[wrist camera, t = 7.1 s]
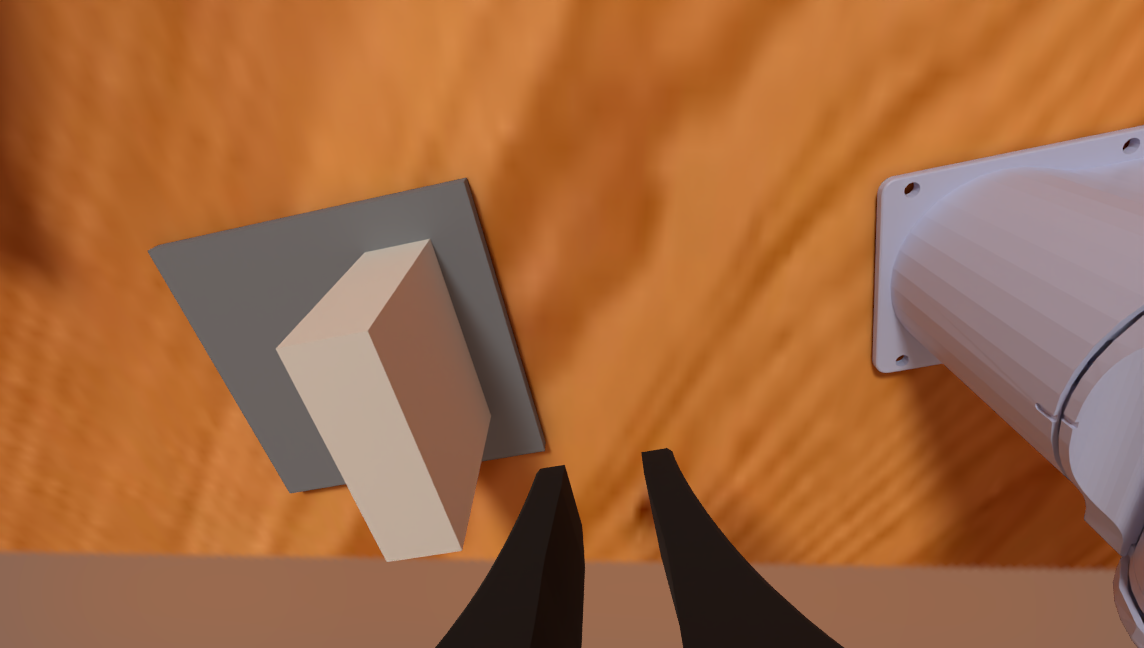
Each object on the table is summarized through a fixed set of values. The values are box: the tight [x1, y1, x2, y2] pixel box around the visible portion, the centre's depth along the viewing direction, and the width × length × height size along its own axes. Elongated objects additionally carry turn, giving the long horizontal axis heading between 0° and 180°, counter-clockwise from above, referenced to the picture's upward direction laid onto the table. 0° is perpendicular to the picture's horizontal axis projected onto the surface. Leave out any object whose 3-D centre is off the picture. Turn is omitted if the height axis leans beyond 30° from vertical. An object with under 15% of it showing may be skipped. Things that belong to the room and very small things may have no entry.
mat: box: [148, 178, 545, 493], centre depth 23 cm, size 12×12×1 cm
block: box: [276, 239, 491, 562], centre depth 19 cm, size 2×8×7 cm, turn 12°
